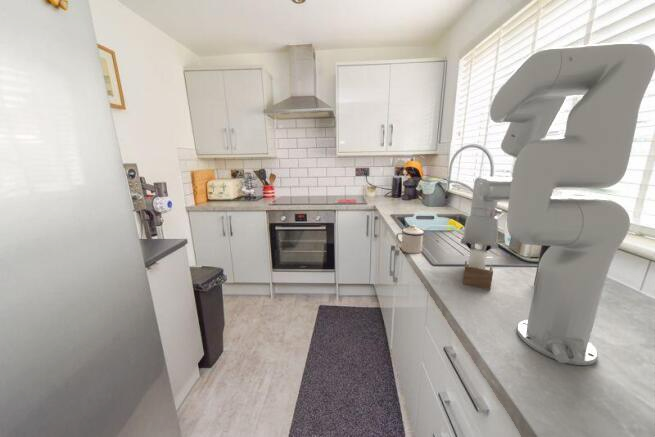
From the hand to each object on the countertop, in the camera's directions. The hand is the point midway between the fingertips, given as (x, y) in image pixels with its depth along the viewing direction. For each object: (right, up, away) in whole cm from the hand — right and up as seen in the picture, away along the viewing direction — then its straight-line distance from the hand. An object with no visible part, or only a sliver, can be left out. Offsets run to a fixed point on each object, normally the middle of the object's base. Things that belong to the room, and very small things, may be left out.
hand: (476, 261), depth 89 cm
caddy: (-7, -5, -11) cm, 14 cm away
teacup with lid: (-18, +1, +20) cm, 27 cm away
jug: (-2, -3, -2) cm, 4 cm away
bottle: (+13, -6, -15) cm, 21 cm away
